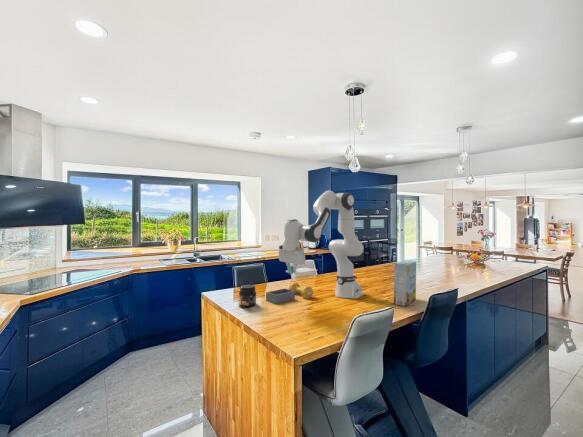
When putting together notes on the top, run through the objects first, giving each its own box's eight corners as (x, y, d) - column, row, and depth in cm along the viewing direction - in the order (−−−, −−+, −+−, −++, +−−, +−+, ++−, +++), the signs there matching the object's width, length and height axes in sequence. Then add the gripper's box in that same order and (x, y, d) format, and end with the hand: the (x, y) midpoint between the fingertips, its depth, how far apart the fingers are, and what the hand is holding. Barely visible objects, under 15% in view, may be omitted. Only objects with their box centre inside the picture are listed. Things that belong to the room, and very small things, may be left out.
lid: (305, 268, 184) (305, 262, 184) (317, 270, 176) (317, 264, 176) (283, 272, 172) (283, 265, 172) (295, 274, 164) (295, 267, 164)
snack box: (407, 307, 174) (407, 264, 174) (393, 304, 179) (393, 263, 179) (417, 299, 191) (416, 260, 191) (403, 297, 197) (403, 259, 197)
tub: (285, 297, 197) (285, 288, 197) (294, 300, 189) (294, 291, 189) (266, 301, 186) (266, 292, 186) (275, 305, 179) (275, 295, 179)
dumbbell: (287, 294, 205) (287, 283, 205) (297, 292, 210) (297, 281, 210) (304, 300, 189) (304, 288, 189) (314, 298, 195) (314, 286, 195)
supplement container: (235, 306, 175) (235, 287, 175) (245, 302, 184) (245, 283, 184) (249, 309, 170) (249, 289, 170) (259, 304, 179) (259, 285, 179)
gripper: (307, 248, 163) (308, 272, 163) (284, 245, 179) (284, 267, 179) (299, 248, 159) (299, 273, 159) (276, 246, 174) (276, 269, 174)
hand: (291, 270), depth 169 cm, fingers closed on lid, 3 cm apart
